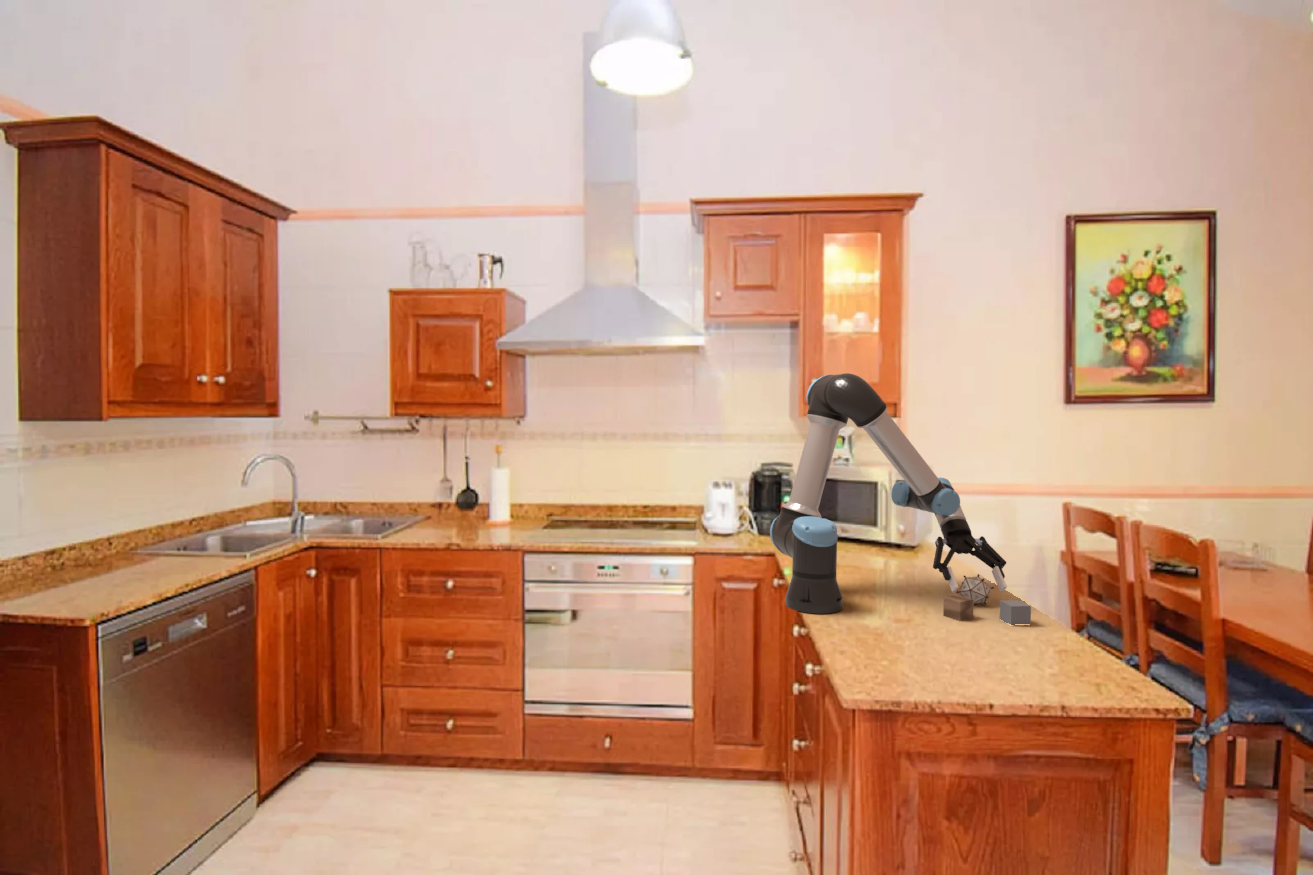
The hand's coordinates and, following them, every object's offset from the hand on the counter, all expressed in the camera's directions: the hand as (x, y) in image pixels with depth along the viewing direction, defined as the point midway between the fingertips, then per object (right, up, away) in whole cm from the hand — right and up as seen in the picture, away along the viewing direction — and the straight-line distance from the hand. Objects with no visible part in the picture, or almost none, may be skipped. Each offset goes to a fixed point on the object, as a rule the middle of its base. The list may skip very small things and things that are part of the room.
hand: (979, 589), depth 184 cm
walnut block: (-10, -5, -9) cm, 14 cm away
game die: (0, -5, +2) cm, 5 cm away
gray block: (+2, -5, -13) cm, 15 cm away
